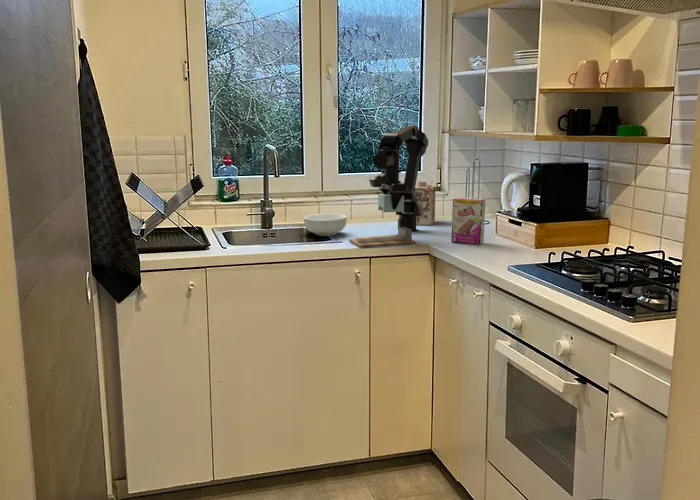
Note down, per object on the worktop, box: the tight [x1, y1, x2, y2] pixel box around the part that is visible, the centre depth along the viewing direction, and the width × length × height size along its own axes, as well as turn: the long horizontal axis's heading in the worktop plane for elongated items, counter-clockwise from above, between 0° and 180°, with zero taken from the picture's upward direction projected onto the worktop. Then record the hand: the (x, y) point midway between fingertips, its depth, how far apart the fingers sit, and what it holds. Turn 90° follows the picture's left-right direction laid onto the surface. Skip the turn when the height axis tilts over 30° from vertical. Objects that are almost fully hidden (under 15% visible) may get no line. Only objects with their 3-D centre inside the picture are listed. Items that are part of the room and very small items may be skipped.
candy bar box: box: [451, 196, 487, 246], centre depth 263 cm, size 11×5×16 cm, turn 65°
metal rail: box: [355, 234, 403, 243], centre depth 263 cm, size 20×3×2 cm, turn 108°
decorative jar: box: [409, 180, 437, 226], centre depth 306 cm, size 12×12×18 cm
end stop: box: [397, 226, 413, 241], centre depth 266 cm, size 2×7×4 cm, turn 18°
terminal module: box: [377, 193, 404, 213], centre depth 273 cm, size 8×6×6 cm
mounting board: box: [348, 238, 418, 249], centre depth 263 cm, size 22×12×1 cm, turn 108°
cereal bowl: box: [303, 213, 347, 237], centre depth 281 cm, size 17×17×7 cm
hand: (390, 208), depth 273 cm, fingers closed on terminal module, 6 cm apart
